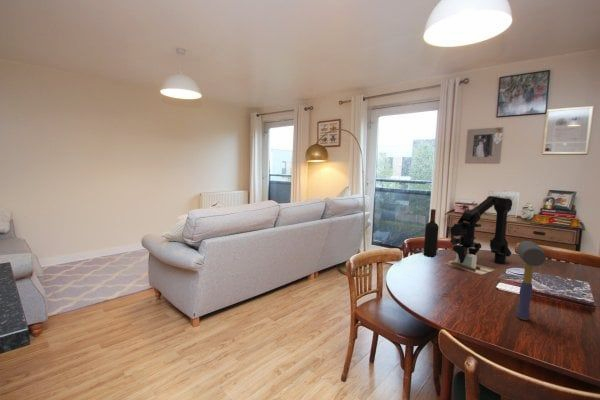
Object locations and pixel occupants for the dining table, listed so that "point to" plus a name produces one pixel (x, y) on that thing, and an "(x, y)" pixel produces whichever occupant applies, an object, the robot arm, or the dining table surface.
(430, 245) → the wine bottle
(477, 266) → the display stand
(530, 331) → the dining table surface
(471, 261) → the white block
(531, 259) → the rubber mallet
